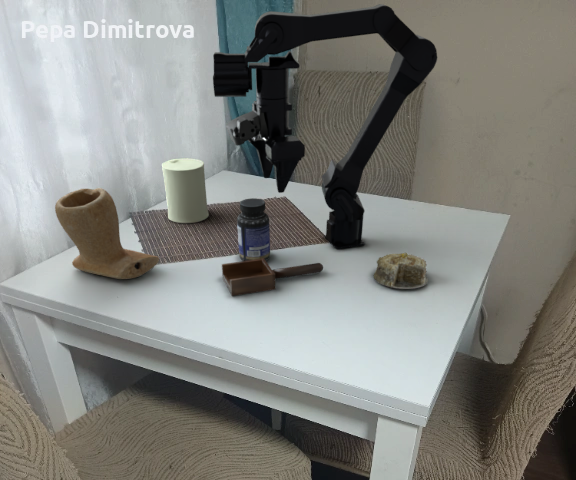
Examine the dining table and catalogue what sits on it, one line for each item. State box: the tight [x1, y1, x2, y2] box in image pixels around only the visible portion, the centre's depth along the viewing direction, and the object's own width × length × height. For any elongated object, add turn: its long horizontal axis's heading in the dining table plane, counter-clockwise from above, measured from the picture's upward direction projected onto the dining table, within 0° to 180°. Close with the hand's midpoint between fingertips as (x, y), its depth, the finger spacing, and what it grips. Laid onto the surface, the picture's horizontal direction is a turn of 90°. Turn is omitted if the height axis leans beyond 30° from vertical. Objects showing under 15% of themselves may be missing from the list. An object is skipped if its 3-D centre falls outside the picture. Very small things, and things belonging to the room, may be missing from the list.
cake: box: [373, 252, 429, 290], centre depth 104 cm, size 10×10×5 cm
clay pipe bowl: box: [54, 187, 160, 280], centre depth 103 cm, size 15×12×15 cm
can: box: [161, 157, 210, 224], centre depth 127 cm, size 9×9×12 cm
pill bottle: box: [236, 197, 271, 262], centre depth 109 cm, size 6×6×11 cm
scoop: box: [221, 258, 324, 297], centre depth 104 cm, size 18×7×3 cm, turn 109°
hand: (273, 184), depth 111 cm, fingers open, 9 cm apart
